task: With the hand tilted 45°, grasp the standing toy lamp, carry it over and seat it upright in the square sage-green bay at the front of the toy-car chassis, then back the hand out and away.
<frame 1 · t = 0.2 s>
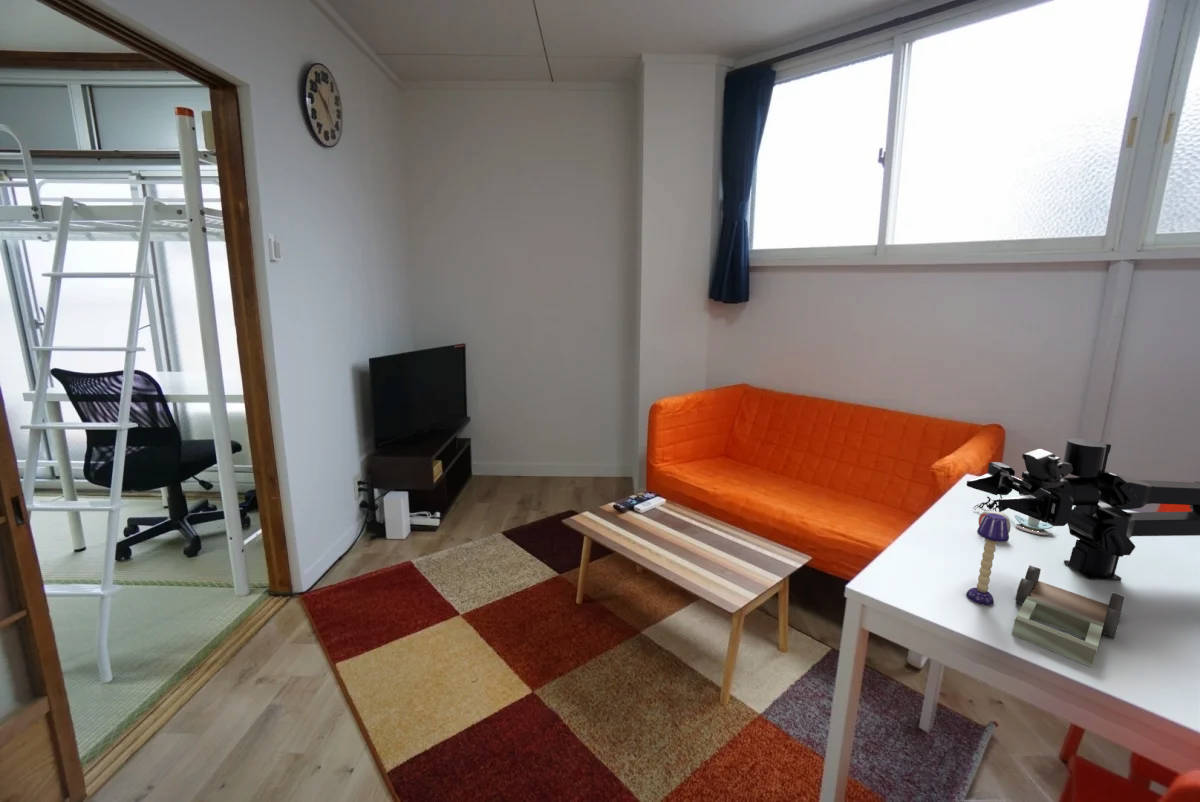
hand: (982, 492, 104), 17 cm above the table, tool horizontal, fingers open, 9 cm apart
chassis: (1061, 621, 90), on the table
creature: (988, 513, 134), on the table
roller toy: (991, 535, 122), on the table
toy lamp: (979, 599, 97), on the table
pacifier: (1031, 531, 125), on the table
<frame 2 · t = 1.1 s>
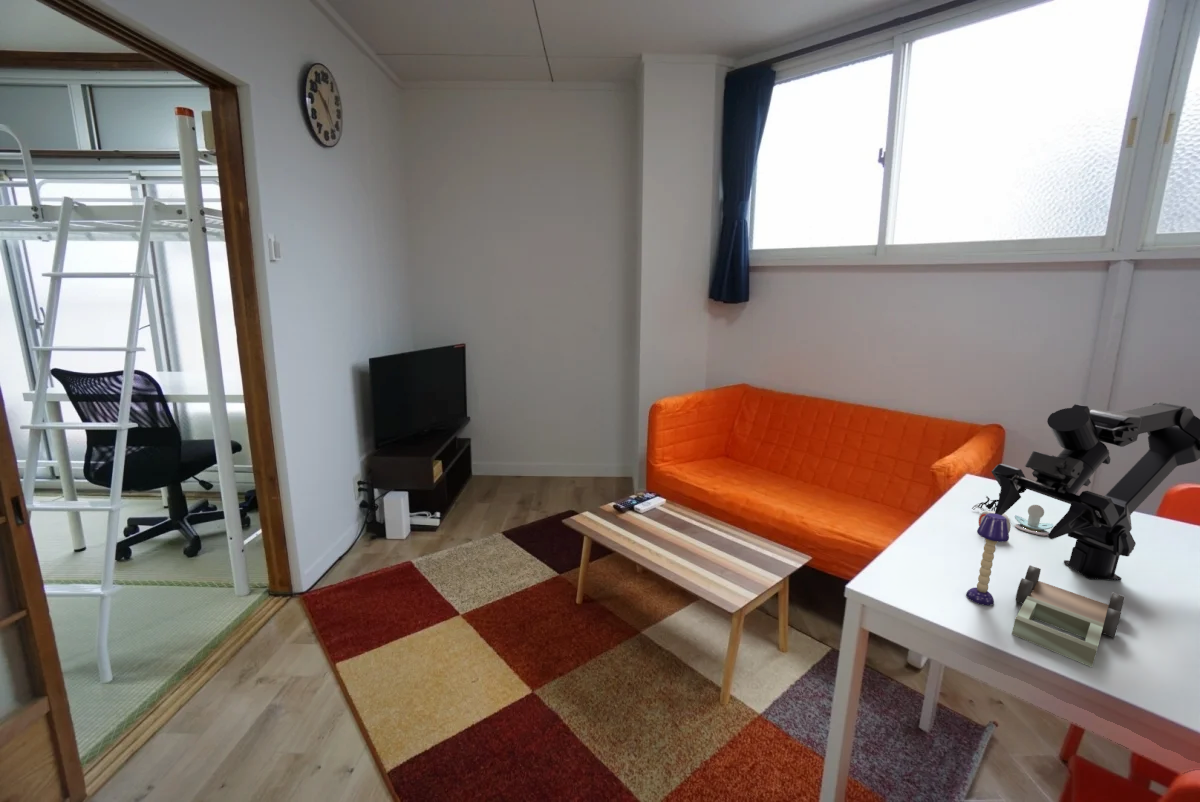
hand: (1021, 526, 96), 14 cm above the table, tool tilted 45°, fingers open, 9 cm apart
nothing on the table moved.
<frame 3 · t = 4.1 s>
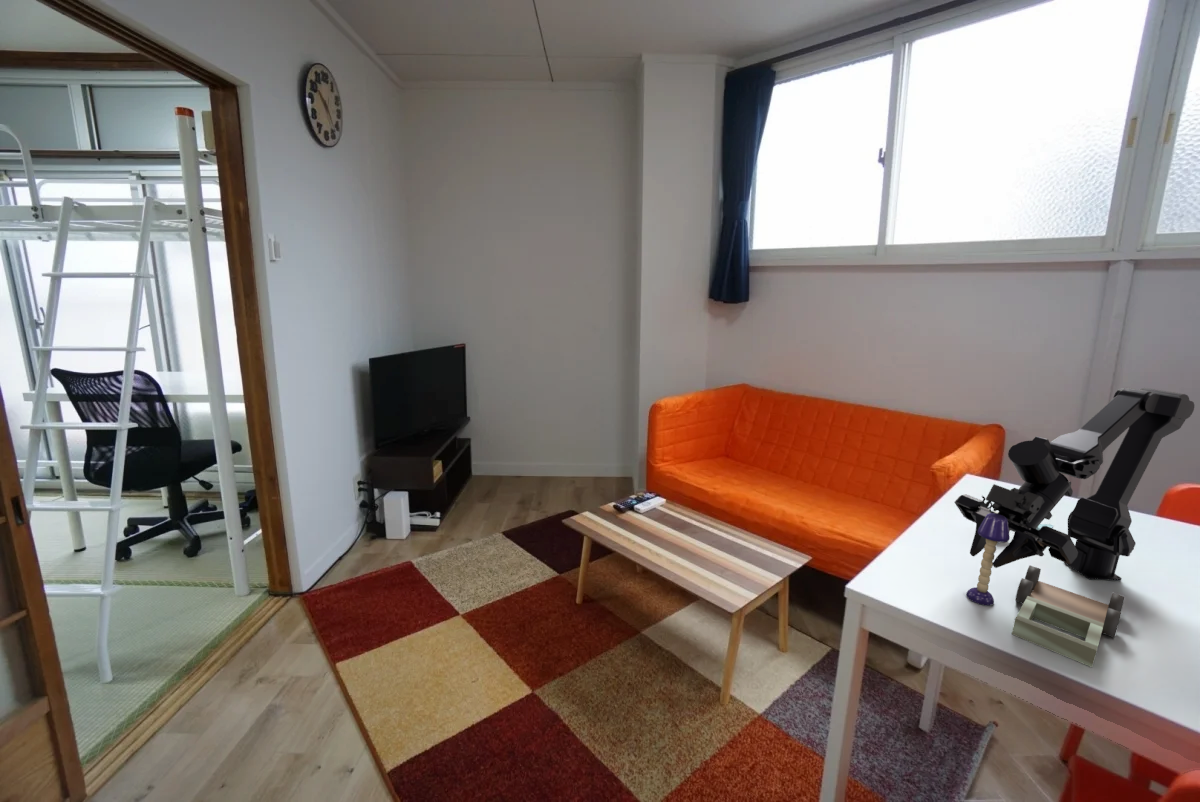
hand: (982, 560, 94), 8 cm above the table, tool tilted 45°, fingers closed on toy lamp, 4 cm apart
toy lamp: (979, 599, 97), on the table, touching gripper
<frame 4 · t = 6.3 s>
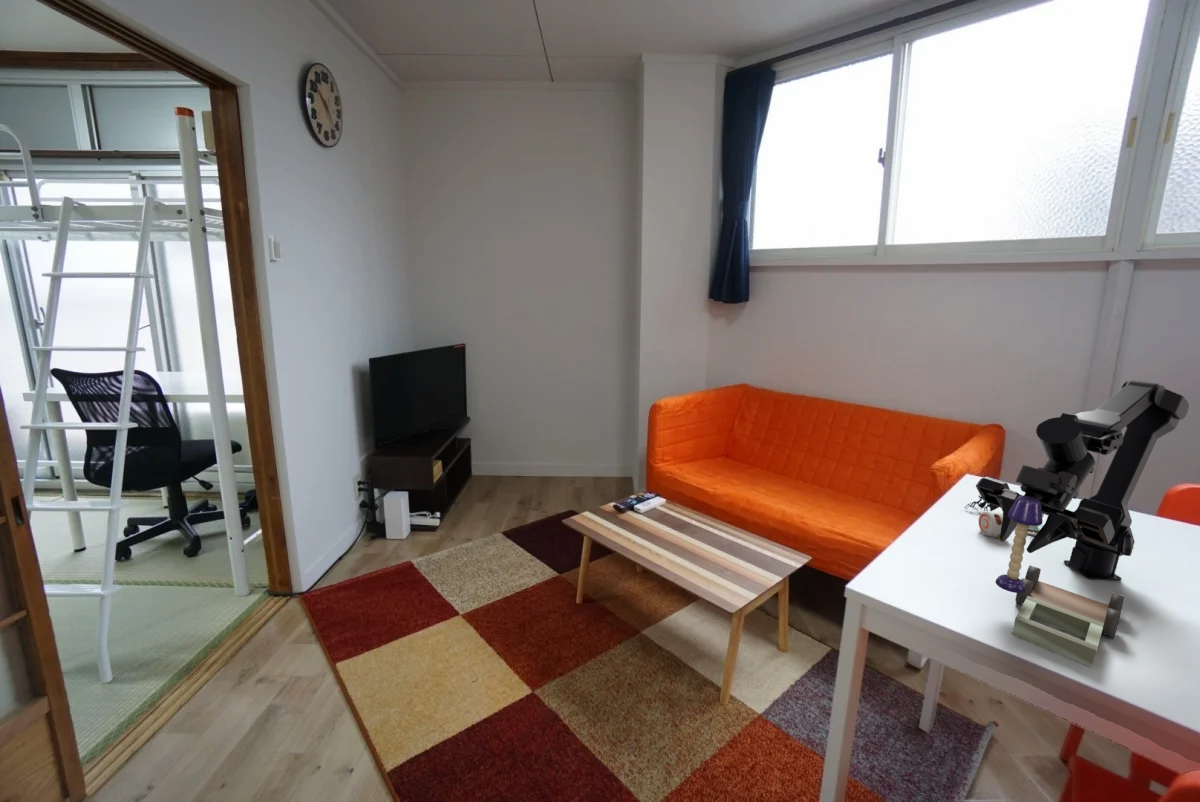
hand: (1014, 546, 89), 13 cm above the table, tool tilted 45°, fingers closed on toy lamp, 4 cm apart
toy lamp: (1009, 586, 92), point 5 cm above the table, touching gripper
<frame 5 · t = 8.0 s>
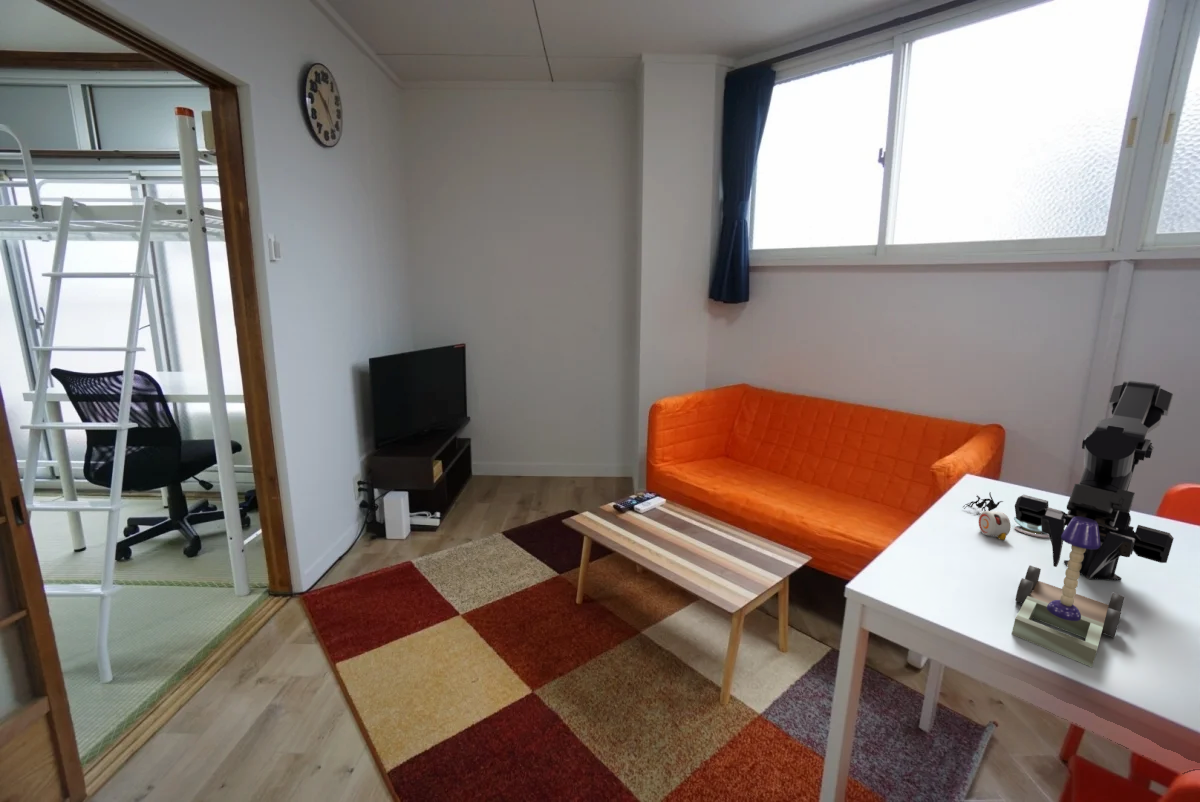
hand: (1071, 571, 83), 13 cm above the table, tool tilted 45°, fingers closed on toy lamp, 4 cm apart
toy lamp: (1061, 613, 86), point 4 cm above the table, touching gripper
when the fingers open (9 cm above the table, at t = 9.1 s): toy lamp stays where it is, resting in chassis.
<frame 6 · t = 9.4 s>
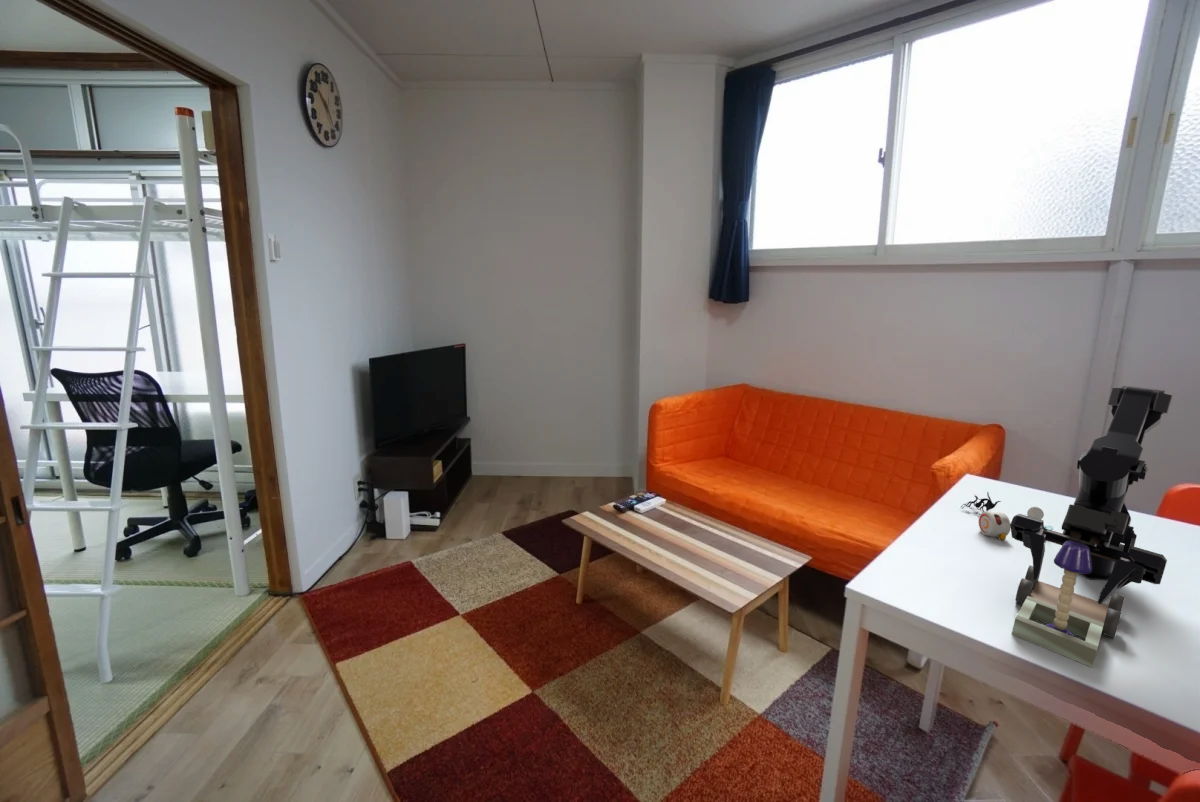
hand: (1066, 591, 83), 9 cm above the table, tool tilted 45°, fingers open, 8 cm apart
toy lamp: (1055, 636, 87), resting in chassis
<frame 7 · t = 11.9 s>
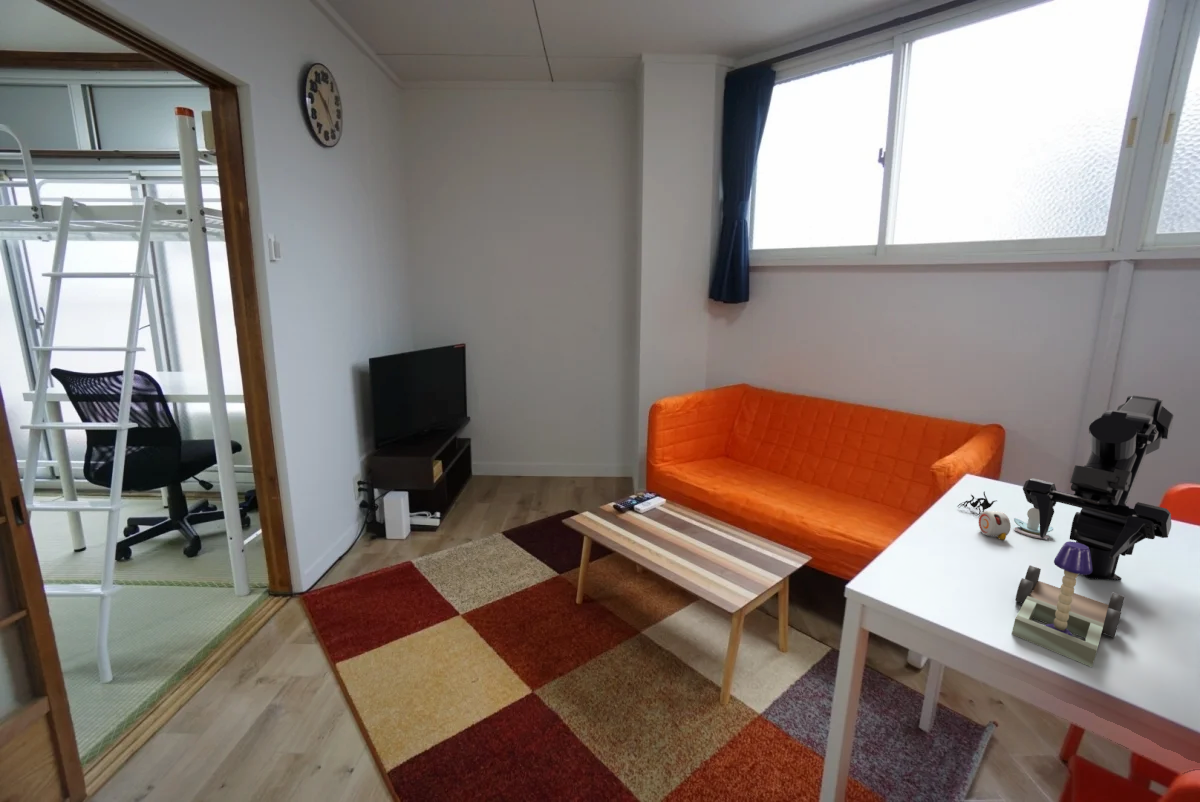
hand: (1075, 546, 89), 13 cm above the table, tool tilted 45°, fingers open, 9 cm apart
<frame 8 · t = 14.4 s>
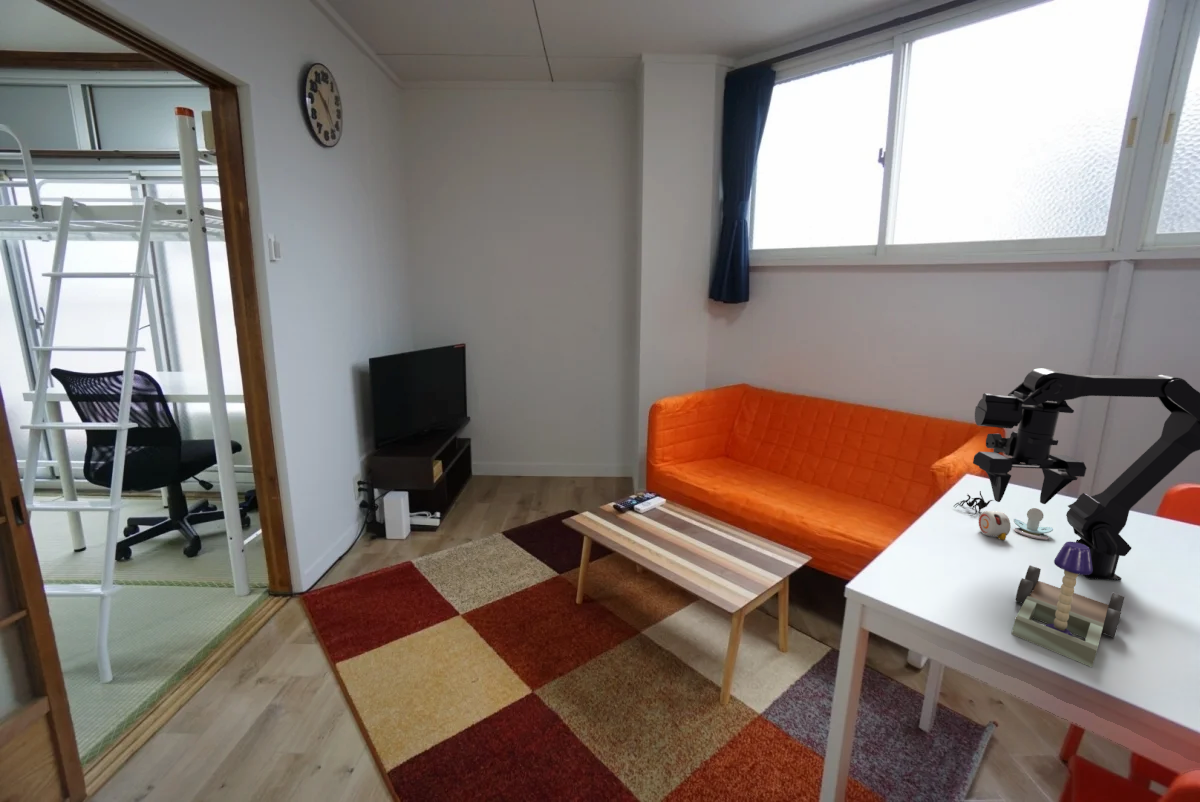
hand: (1019, 502, 108), 13 cm above the table, tool pointing down, fingers open, 9 cm apart
at the end: toy lamp 0.4 cm from the target spot on the chassis, point 0.0 cm above the chassis's base; toy lamp tilted 0°; the gripper is holding nothing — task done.
